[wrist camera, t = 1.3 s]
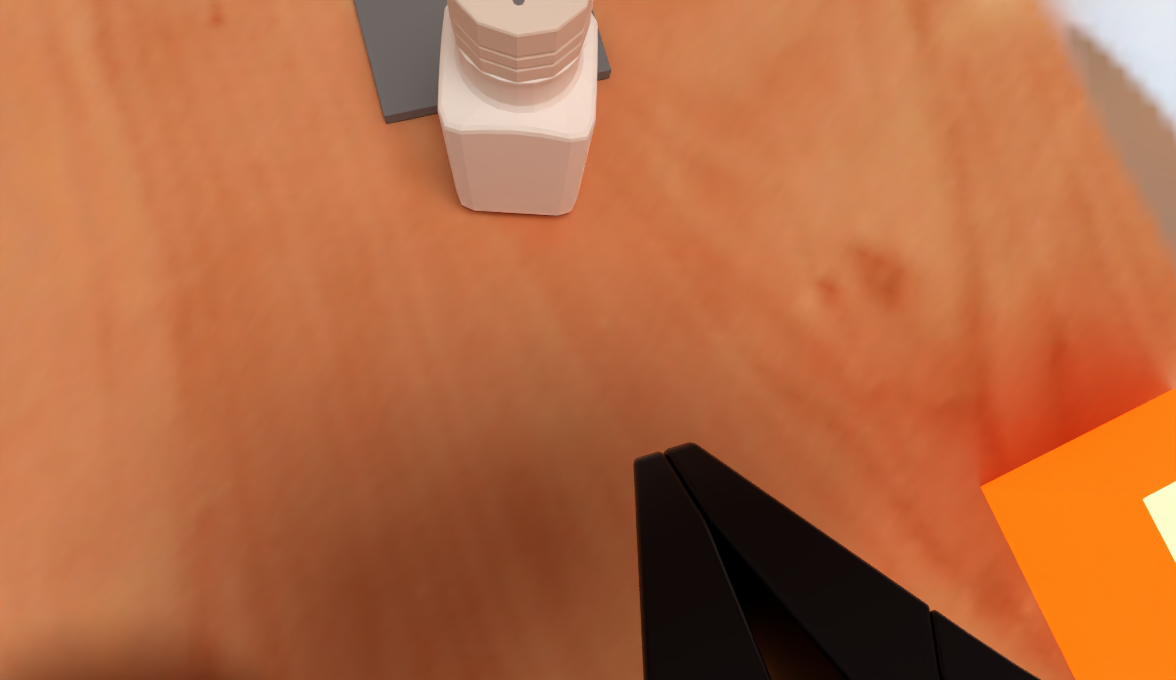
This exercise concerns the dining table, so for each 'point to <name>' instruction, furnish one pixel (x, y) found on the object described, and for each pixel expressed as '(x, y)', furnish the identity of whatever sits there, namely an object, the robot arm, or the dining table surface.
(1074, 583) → the orange juice
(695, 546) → the robot arm
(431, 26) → the coaster
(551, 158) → the pepper shaker
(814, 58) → the dining table surface
